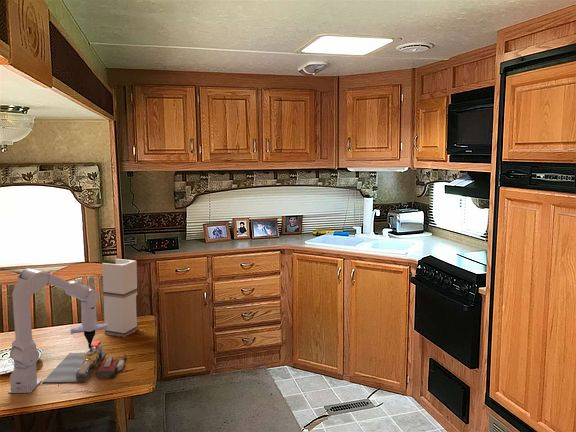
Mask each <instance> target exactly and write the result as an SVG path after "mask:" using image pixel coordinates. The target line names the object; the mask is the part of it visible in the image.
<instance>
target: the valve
mask: <svg viewBox="0 0 576 432" xmlns="http://www.w3.org/2000/svg"><path fill="white" fill-rule="evenodd" d="M104 353H105V350H104V348H103V346H101V345H99V347H98V348H97V349H95V350H94V354H93V355H87V354H85V355H84V357H85V360H84V361H83V362H82V366H81V367H80V368H79V369H78V370H77V371H76V378H87V377H88V376H89V369H91V368H94V367H96V366H97V367H98V365H97V364H96V361H97V360H98V358H102V357H103V356H104ZM104 357H105V356H104ZM104 357H103V358H104ZM97 367H96V368H97ZM89 377H90V376H89ZM89 377H88V378H89Z"/></svg>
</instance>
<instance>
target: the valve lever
mask: <svg viewBox="0 0 576 432" xmlns="http://www.w3.org/2000/svg"><path fill="white" fill-rule="evenodd" d="M101 343H102V342H101V340H99V339H98V340H93V341H92V343H91V349H89V350H88V351H86V353H87V355H93V354H94V350H95V349H97V348H98V347H99V346H101Z"/></svg>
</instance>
